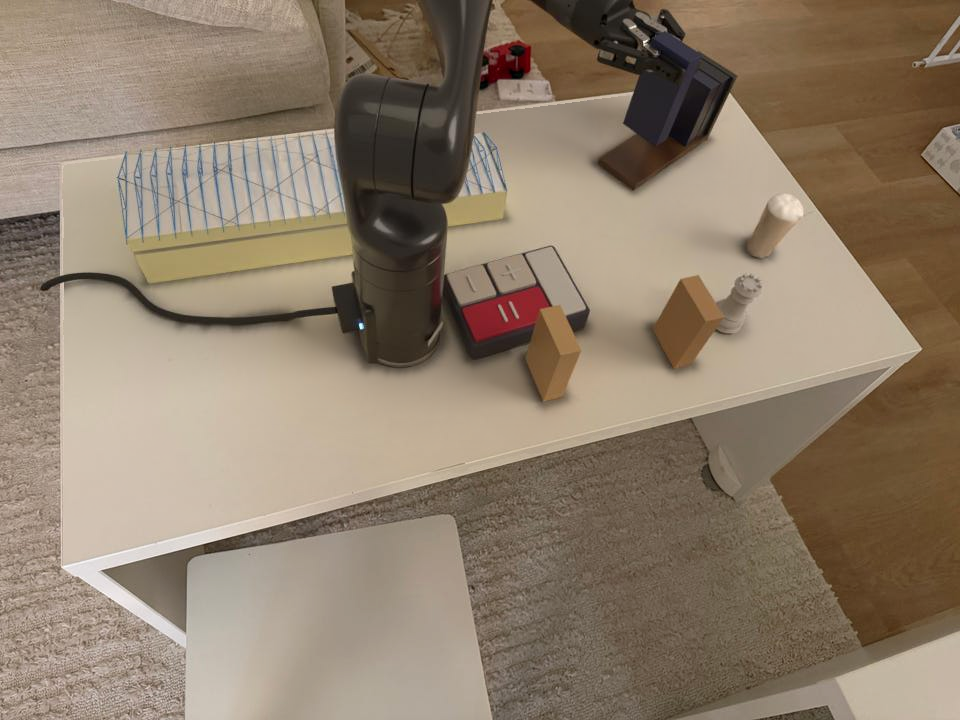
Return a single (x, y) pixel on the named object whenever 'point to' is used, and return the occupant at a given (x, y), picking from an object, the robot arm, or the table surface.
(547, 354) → the tan blocks
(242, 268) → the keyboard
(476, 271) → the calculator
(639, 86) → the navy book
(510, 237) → the table surface
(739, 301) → the rook chess piece
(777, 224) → the milkshake
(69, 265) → the table surface
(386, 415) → the table surface
